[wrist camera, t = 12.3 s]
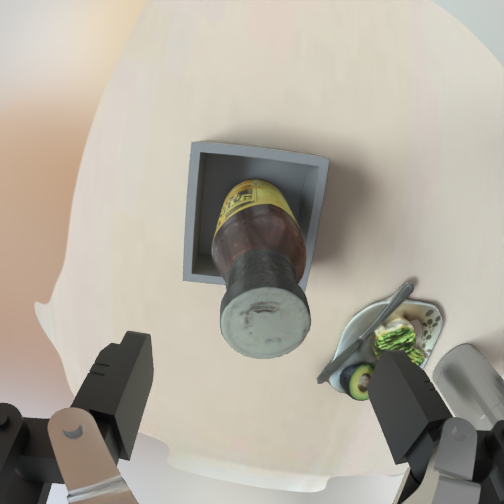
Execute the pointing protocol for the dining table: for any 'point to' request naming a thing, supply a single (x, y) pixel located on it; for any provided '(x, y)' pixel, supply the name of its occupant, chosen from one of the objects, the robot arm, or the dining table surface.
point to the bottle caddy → (231, 174)
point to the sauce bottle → (261, 272)
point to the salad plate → (381, 340)
